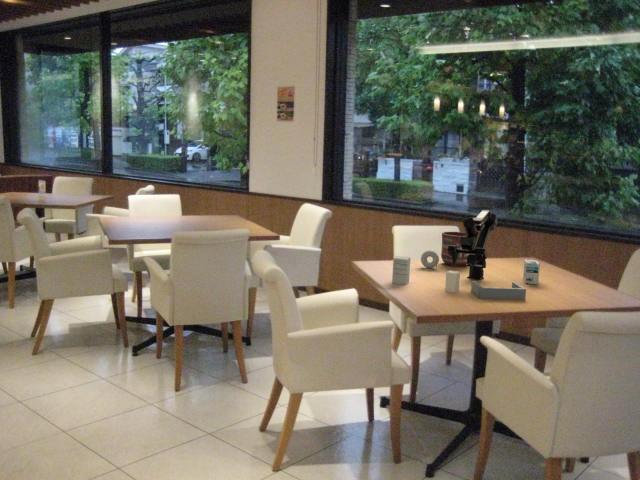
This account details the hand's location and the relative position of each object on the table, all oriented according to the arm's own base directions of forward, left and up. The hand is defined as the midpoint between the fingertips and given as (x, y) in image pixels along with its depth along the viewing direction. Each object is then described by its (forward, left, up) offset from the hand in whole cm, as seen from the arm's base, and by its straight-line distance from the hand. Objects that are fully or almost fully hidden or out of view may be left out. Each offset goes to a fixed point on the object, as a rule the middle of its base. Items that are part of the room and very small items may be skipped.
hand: (462, 266), depth 304 cm
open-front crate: (+19, +1, -11) cm, 22 cm away
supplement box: (-24, -17, -11) cm, 31 cm away
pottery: (-36, +46, -11) cm, 59 cm away
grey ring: (-38, +24, -11) cm, 46 cm away
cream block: (+1, -9, -11) cm, 14 cm away
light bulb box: (+13, +42, -11) cm, 45 cm away
